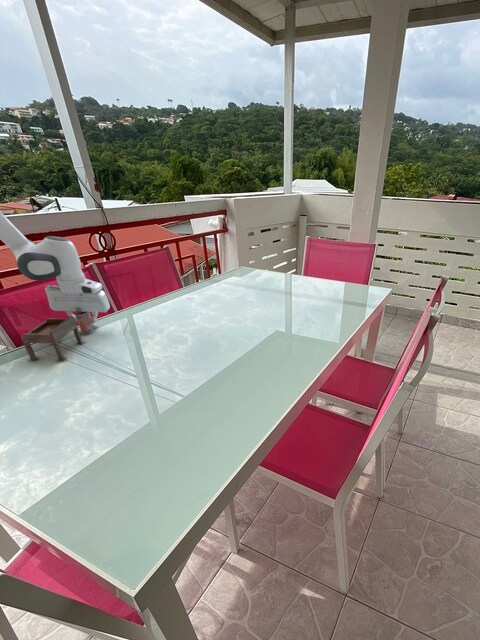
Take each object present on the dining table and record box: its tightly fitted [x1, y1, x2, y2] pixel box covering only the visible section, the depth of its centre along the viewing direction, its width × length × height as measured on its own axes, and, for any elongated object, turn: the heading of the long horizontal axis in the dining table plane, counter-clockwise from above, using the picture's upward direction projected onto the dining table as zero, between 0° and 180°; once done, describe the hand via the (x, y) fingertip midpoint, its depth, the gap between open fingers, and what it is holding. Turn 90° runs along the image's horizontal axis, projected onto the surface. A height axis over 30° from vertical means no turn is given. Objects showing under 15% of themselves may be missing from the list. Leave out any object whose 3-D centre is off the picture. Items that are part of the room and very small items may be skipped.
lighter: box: [74, 308, 96, 336], centre depth 127 cm, size 8×3×10 cm, turn 6°
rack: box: [20, 316, 84, 362], centre depth 112 cm, size 10×14×10 cm
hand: (85, 321), depth 128 cm, fingers open, 5 cm apart
